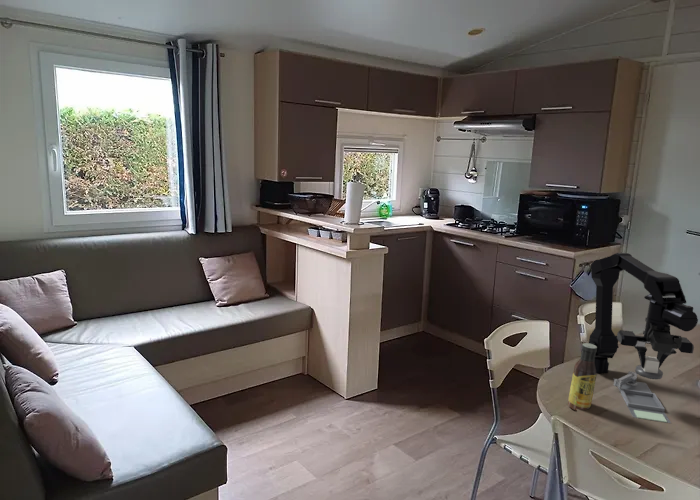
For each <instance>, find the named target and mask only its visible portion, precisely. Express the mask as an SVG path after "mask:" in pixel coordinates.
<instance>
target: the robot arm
mask: <svg viewBox="0 0 700 500" xmlns="http://www.w3.org/2000/svg"><path fill="white" fill-rule="evenodd" d="M623 271H625V272H626V273H628V274H629V275H631V276H632V277H634V278H635V279H637V280H639V281H640V282H641V283H642V284H643V286H644V287H643V288H644V289H645V290H646V292H648V293H649V294H647V295H645V296H644V298H643V299H644V300H647V301H648V302H649V303H648V309H647V315H646V317H645V319H644V320H645V325H644V326H645V327H644V330H643V331H642V335H643V336H642V335H636V334H635V333H634V331H633V330H632V331H629V330H625V329H624V330H623V329H622V330H621V329H620V330H618V331H617V334H615V333H614V331H613V329H612V327H613V326H612V325H613V300H614V298H613V297H614V286H615V284H616V283H617V282H618V280H619V277H620V272H623ZM590 273H591V275H590V276H591V279H592V280H593V283H594V285H596V286H595V287H596V289H595V296H596V297H595V319H594V321H595V323H594V324H595V325H594V327H595V328H594V329H593V330H592V332H591V333H590V335H589V338H588V339H589V340H588V343H590V344H593V345H596V346H597V352H596V354H595V368H596V374H597V375H598V374H599V375H602V374H608V372H609V367H610V362H609V359H614V356H615V355H616V353H617V351H618V349H619V348H620V346H619V344H620V345H622V346H625V347H626V346H627V347H628V346H629V347H633V348H634V349H636V351H637V353H638V355H637V356H638V358H639V362H640V365H641V367H642V368H644V365H645V356H647V355H646V353H647V351H648V348H647V347H646V344H648V345H649V344H650V345H651V349H652V351H654V352H657V354H656V358H657V359H658V361H659V368H658V369H659V370H660V368H661V366H662V365H663V364H664V362H665V361H666V359H667V358H668V357H669V356H671V355H676V354H677V351H676V349H677V350H679V352H680V353H685V354H693V353H694V350H695V349H694V348H695V347H694V344H693V343H692V341H691V340H689V339H688V338H687V337H684V336H682V335H676V334H675V335H674V334H671V327H675V328H676V329H678V330H681V331H684V332H690V331H692V330H694V329H695V328H696V326H697V324H698V322H699V319H698V316H697V314H696V312H694V307H693V306H691V305H687V299H686V296H685V294H684V291H683V289H682V286H681V283H680V280H679V278H678V277H676V276H674V275H671V274H669V273H665V272H660V271H657V270H654V269H653V268H651V267H650V266H648V265H647V264H645V263H643V262H642V261H640V260H639V259H638V258H635V257H633V255H632V254H631V253H628V252H616V253H613V254H612V255H609V256H606V257H602V258H600V259H595V260H594V261H593V262H591V265H590Z"/></svg>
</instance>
